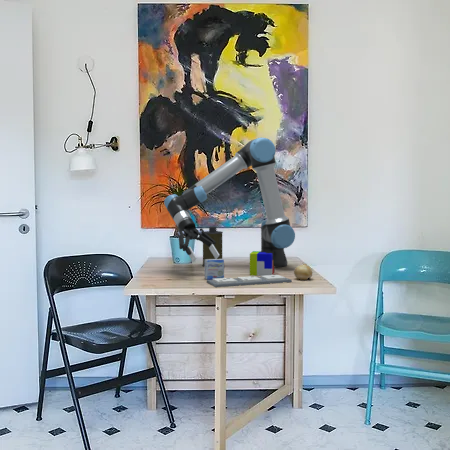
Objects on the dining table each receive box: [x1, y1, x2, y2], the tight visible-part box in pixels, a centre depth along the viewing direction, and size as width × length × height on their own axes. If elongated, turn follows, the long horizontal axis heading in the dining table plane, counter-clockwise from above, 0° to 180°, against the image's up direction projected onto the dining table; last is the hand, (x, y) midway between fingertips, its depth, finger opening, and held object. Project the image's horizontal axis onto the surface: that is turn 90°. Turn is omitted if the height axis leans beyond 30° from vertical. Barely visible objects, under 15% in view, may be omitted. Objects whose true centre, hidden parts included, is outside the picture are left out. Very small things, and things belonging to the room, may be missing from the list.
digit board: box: [206, 274, 293, 288], centre depth 239 cm, size 34×12×2 cm, turn 109°
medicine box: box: [204, 258, 225, 281], centre depth 248 cm, size 8×4×9 cm, turn 106°
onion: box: [293, 263, 313, 281], centre depth 246 cm, size 8×8×7 cm
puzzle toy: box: [249, 250, 275, 277], centre depth 261 cm, size 10×10×10 cm
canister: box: [202, 226, 223, 267], centre depth 288 cm, size 11×10×20 cm
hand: (206, 258), depth 250 cm, fingers open, 13 cm apart
